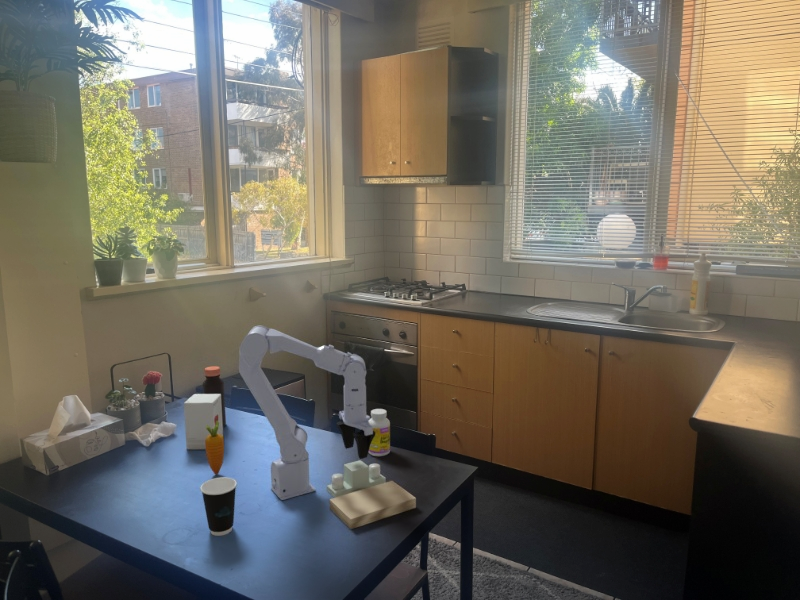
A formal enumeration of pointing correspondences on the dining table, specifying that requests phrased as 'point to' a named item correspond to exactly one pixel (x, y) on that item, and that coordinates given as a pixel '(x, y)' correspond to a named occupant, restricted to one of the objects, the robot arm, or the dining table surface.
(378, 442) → the supplement bottle
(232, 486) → the dixie cup
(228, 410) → the dining table surface
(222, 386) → the vinegar
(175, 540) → the dining table surface
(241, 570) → the dining table surface
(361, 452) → the robot arm
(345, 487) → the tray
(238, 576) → the dining table surface
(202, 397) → the supplement box
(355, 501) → the shelf board
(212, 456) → the carrot
